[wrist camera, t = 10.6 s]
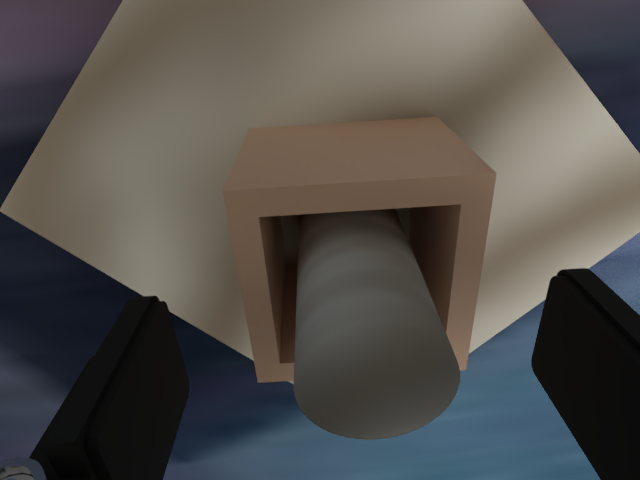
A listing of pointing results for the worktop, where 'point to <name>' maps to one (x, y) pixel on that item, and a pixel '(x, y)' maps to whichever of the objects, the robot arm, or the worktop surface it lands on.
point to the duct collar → (357, 195)
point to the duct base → (320, 76)
